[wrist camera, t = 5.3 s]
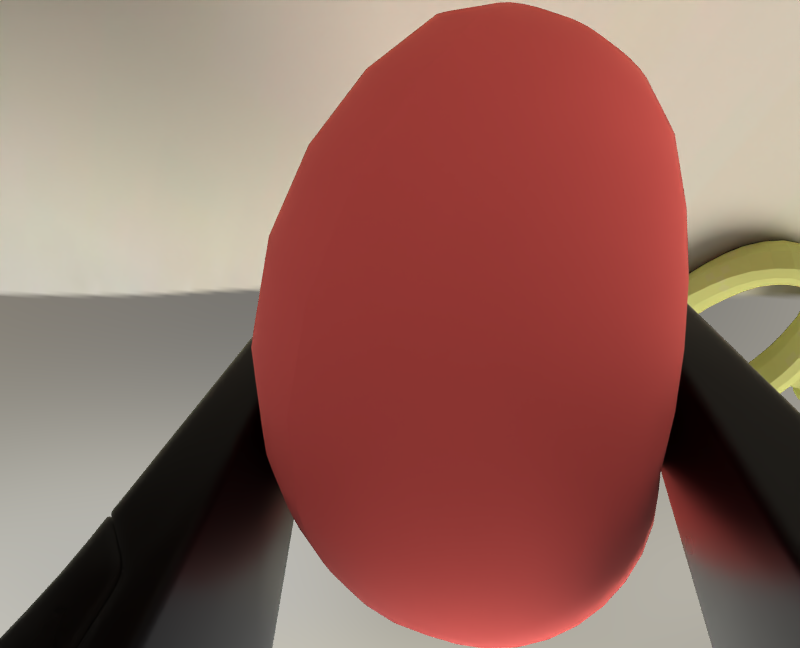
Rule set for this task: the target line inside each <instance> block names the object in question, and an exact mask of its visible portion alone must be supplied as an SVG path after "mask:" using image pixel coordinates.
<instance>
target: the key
mask: <svg viewBox="0 0 800 648" xmlns="http://www.w3.org/2000/svg"><path fill="white" fill-rule="evenodd" d="M769 285H792V286H798V287H800V244H799V243H794V242H789V241H785V240H781V241H764V242H760V243H755V244H750V245H746V246H742V247H740V248H738V249H735V250H733V251H730V252H728V253H725V254H723V255H721V256H719V257H717V258H716V259H714V260H712V261H710V262H708V263H706V264H704V265H702V266H701V267H699V268H698V269H696V270H695V271H693V272H691V273H690V274H689V285H688V301H687V303H688V304H689V305H690V306H691V307H692V308H693V309H694V310H695V311H696V312H697V313H698V314H699V313H701V312H702V311H704V310H705V309H707V308H708V307H710V306H712V305H714V304H716V303H718V302H720V301H722V300H724V299H727V298H729V297H731V296H734V295H736V294H738V293H741V292H744V291H747V290H750V289H753V288H756V287H762V286H769ZM749 364H750V365H751V366H752V367H753V368H754V369H755V370H756V371H757V372H758V373H759V374H760V375H761V376H762V377H763V378H764V379H765V380H766V381H768V382H769V383H770V384H771V385H772V386H773V387H774V388H775V389H776V390H777V391H778V392H779V393H782V392H783V391H784V390H786V389H787V388H788V387H790V386H791V387H793V391H794V393H795V394H796V396H797V398H798V399H799V400H800V312H799V314H798V316H797V317H796V318H795V320H794V321H793V322H792V323H791V324H790V325H789V327H788V328H787V329H786V330H785V331H784V332H783V334H782V335H780V337H779V338H777V340H776V341H774V343H772V344H771V345H770V346H769V347H768V348H767V349H766V350H765V351H763V352H762V353H761V354H760V355H758V356H757V357H756V358H755V359H753V360H752V361H750V362H749Z"/></svg>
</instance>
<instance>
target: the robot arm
mask: <svg viewBox="0 0 800 648" xmlns="http://www.w3.org/2000/svg"><path fill="white" fill-rule="evenodd" d="M252 339H253V337H252V338H251V339H250V341H249V342H248V343H247V344H246V346H245V347H244V348H243V349H242V351H241V352H240V353H239V354H238V356H237V357H236V358H235V359H234V361H233V362H232V363H231V364H230V365H229V367H228V368H227V369H226V371H225V372H224V373H223V374H222V375H221V377H220V378H219V379H218V381H217V382H216V383H215V384H214V385H213V387H212V388H211V389H210V390H209V392H208V393H207V394H206V395H205V397H204V398H203V399H202V400H201V402H200V403H199V404H198V405H197V407H196V408H195V409H194V410H193V411H192V413H191V414H190V415H189V416H188V418H187V419H186V420H185V421H184V423H183V424H182V425H181V426H180V428H179V429H178V430H177V431H176V433H175V434H174V435H173V436H172V438H171V439H170V440H169V441H168V443H167V444H166V445H165V446H164V448H163V449H162V450H161V451H160V452H159V454H158V455H157V456H156V457H155V459H154V460H153V461H152V462H151V464H150V465H149V466H148V467H147V469H146V470H145V471H144V472H143V474H142V475H141V476H140V477H139V479H138V480H137V481H136V482H135V483H134V485H133V486H132V487H131V488H130V490H129V491H128V492H127V494H126V495H125V496H124V497H123V498H122V500H121V501H120V502H119V504H118V505H117V506H116V507H115V508H114V510H113V511H112V514H111V515H112V517H107V518H106V519H105V520H104V522H103V523H102V524H101V525H100V527H99V528H98V529H97V530H96V532H95V533H94V534H93V535H92V537H91V538H90V539H89V540H88V542H87V543H86V544H85V545H84V546H83V547H82V549H81V550H80V551H79V552H78V553H77V555H76V556H75V557H74V558H73V560H72V561H71V562H70V563H69V564H68V565H67V566H66V568H65V569H64V570H63V571H62V572H61V574H60V575H59V576H58V577H57V578H56V579H55V580H54V581H53V582H52V584H51V585H50V586H49V587H48V588H47V589H46V590H45V591H44V592H43V593H42V594H41V595H40V597H39V598H38V599H37V600H36V601H35V602H34V603H33V604H32V605H31V606H30V607H29V608H28V610H27V611H26V612H25V613H24V614H23V615H22V616H21V617H20V618H19V619H18V620H17V621H16V622H15V623H14V625H12V626H11V627H10V629H9V630H8V631H7V632H6V633H5V634H4V635H3V636H2V637H1V638H0V648H272V646H273V640H274V634H275V628H276V622H277V616H278V610H279V604H280V598H281V592H282V586H283V580H284V574H285V568H286V562H287V556H288V550H289V544H290V538H291V532H292V526H293V520H294V518H293V516H292V514H291V512H290V510H289V509H288V506H287V504H286V502H285V499H284V497H283V495H282V492H281V490H280V488H279V485H278V483H277V480H276V478H275V476H274V473H273V471H272V468H271V466H270V463H269V460H268V457H267V455H266V449H265V443H264V437H263V430H262V424H261V416H260V409H259V401H258V394H257V386H256V379H255V372H254V364H253V357H252V349H251V346H252ZM661 472H662V475H663V479H664V482H665V486H666V489H667V493H668V496H669V500H670V503H671V507H672V510H673V514H674V517H675V520H676V524H677V527H678V531H679V534H680V538H681V541H682V544H683V548H684V551H685V555H686V558H687V562H688V565H689V568H690V572H691V575H692V579H693V582H694V586H695V589H696V593H697V596H698V599H699V603H700V606H701V610H702V613H703V617H704V620H705V624H706V627H707V631H708V634H709V637H710V641H711V644H712V647H713V648H800V413H799V412H798V411H797V410H796V409H795V408H794V407H793V406H792V405H791V404H790V403H789V402H788V401H787V400H786V399H785V398H784V397H783V396H782V395H781V394H780V393H779V392H778V391H777V390H776V389H775V388H774V387H773V386H772V385H771V384H770V383H769V382H768V381H766V380H765V379H764V378H763V377H762V376H761V375H760V374H759V373H758V372H757V371H756V370H755V369H754V368H753V367H752V366H751V365H750V364H749V363H748V362H747V361H746V360H745V359H744V358H743V357H742V356H741V355H740V354H739V353H738V352H737V351H736V350H735V349H734V348H733V347H732V346H731V345H730V344H728V343H727V341H725V340H724V339H723V338H722V337H721V336H720V335H719V334H718V333H717V332H716V331H715V330H714V329H713V328H712V327H711V326H710V325H709V324H708V323H707V322H706V321H705V320H704V319H703V318H702V317H701V316H700V315H699V314H698V313H697V312H696V311H695V310H694V309H693V308H692V307H691V306H690V305H689V304H688V303H687V316H686V332H685V347H684V355H683V362H682V369H681V376H680V382H679V389H678V396H677V403H676V409H675V415H674V419H673V423H672V427H671V431H670V436H669V440H668V444H667V448H666V453H665V457H664V461H663V465H662V468H661Z"/></svg>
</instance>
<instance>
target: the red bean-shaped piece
mask: <svg viewBox="0 0 800 648" xmlns="http://www.w3.org/2000/svg"><path fill="white" fill-rule="evenodd" d="M688 285H689V267H688V238H687V210H686V202H685V195H684V189H683V183H682V177H681V170H680V164H679V158H678V152H677V146H676V139H675V134H674V132H673V130H672V127H671V125H670V123H669V121H668V119H667V117H666V115H665V113H664V111H663V109H662V107H661V105H660V104H659V102H658V100H657V98H656V96H655V94H654V92H653V90H652V88H651V86H650V84H649V82H648V80H647V78H646V77H645V75H644V74H643V72H642V71H641V70H640V68H639V67H638V66H637V65H636V64H635V63H634V62H633V61H632V60H631V59H630V58H629V57H628V56H626V55H625V54H624V53H623V52H622V51H621V50H619V49H618V48H617V47H616V46H614V45H613V44H612V43H610V42H609V41H608V40H606V39H605V38H604V37H602V36H601V35H600V34H598V33H597V32H595V31H594V30H593V29H591V28H589V27H588V26H586V25H584V24H582V23H580V22H578V21H576V20H573V19H571V18H568V17H565V16H562V15H559V14H556V13H553V12H550V11H547V10H544V9H541V8H538V7H534V6H530V5H525V4H519V3H511V2H505V3H494V4H488V5H482V6H476V7H470V8H465V9H459V10H453V11H447V12H443V13H439V14H436V15H435V16H434V17H433V18H431V19H430V20H429V21H427V22H426V23H425V24H424V25H422V26H421V27H420V28H418V29H417V30H416V31H415V32H413V33H412V34H411V35H409V36H408V37H407V38H406V39H404V40H403V41H402V42H400V43H399V44H398V45H397V46H395V47H394V48H393V49H391V50H390V51H389V52H388V53H386V54H385V55H384V56H382V57H381V58H380V59H379V60H377V61H376V62H375V63H373V64H372V65H371V66H370V67H368V68H367V69H366V70H365V71H364V73H363V74H362V75H361V77H360V78H359V79H358V81H357V82H356V83H355V85H354V86H353V87H352V89H351V90H350V91H349V93H348V94H347V95H346V96H345V98H344V99H343V100H342V102H341V103H340V104H339V106H338V107H337V108H336V110H335V111H334V112H333V114H332V115H331V116H330V118H329V119H328V120H327V122H326V123H325V124H324V126H323V127H322V128H321V129H320V131H319V132H318V133H317V135H316V136H315V137H314V139H313V140H312V141H311V143H310V144H309V146H308V148H307V150H306V152H305V155H304V157H303V159H302V162H301V164H300V166H299V169H298V171H297V173H296V175H295V178H294V180H293V182H292V185H291V187H290V189H289V191H288V194H287V196H286V198H285V201H284V203H283V205H282V208H281V210H280V212H279V214H278V217H277V219H276V221H275V224H274V226H273V228H272V231H271V233H270V235H269V240H268V246H267V252H266V258H265V264H264V270H263V276H262V282H261V289H260V295H259V301H258V307H257V313H256V319H255V326H254V332H253V339H252V346H251V349H252V357H253V364H254V372H255V379H256V386H257V394H258V401H259V409H260V416H261V424H262V430H263V437H264V443H265V449H266V455H267V457H268V460H269V463H270V466H271V468H272V471H273V473H274V476H275V478H276V480H277V483H278V485H279V488H280V490H281V492H282V495H283V497H284V499H285V502H286V504H287V506H288V509H289V510H290V512H291V514H292V516H293V518H294V520H295V522H296V523H297V525H298V527H299V528H300V530H301V531H302V533H303V534H304V536H305V537H306V539H307V540H308V541H309V543H310V544H311V546H312V547H313V548H314V550H315V551H316V553H317V554H318V556H319V557H320V559H321V560H322V561H323V563H324V564H325V565H326V567H327V568H328V569H329V570H330V571H331V572H332V573H333V575H335V577H336V578H337V579H338V580H340V581H341V582H342V583H343V584H344V585H345V586H346V587H347V588H348V589H349V590H350V591H351V592H352V593H353V594H354V595H355V596H357V597H358V598H359V599H360V600H361V601H362V602H363V603H364V604H366V605H367V606H368V607H370V608H371V609H373V610H375V611H376V612H378V613H379V614H381V615H383V616H384V617H386V618H387V619H389V620H391V621H392V622H394V623H396V624H399V625H401V626H404V627H406V628H409V629H412V630H414V631H417V632H420V633H423V634H425V635H428V636H431V637H435V638H438V639H441V640H445V641H448V642H451V643H455V644H460V645H467V646H473V647H479V648H511V647H520V646H524V645H528V644H532V643H536V642H540V641H544V640H547V639H550V638H552V637H554V636H557V635H559V634H561V633H563V632H565V631H567V630H569V629H571V628H573V627H575V626H577V625H579V624H580V623H582V622H583V621H584V620H585V619H587V618H588V617H590V616H591V615H592V614H594V613H595V612H596V611H597V610H599V609H600V608H602V607H603V606H604V605H605V604H606V603H607V602H608V600H609V599H610V598H611V597H612V596H613V595H614V593H616V592H617V591H618V590H619V588H620V587H621V586H622V585H623V584H624V583H625V582H626V580H627V578H628V577H629V575H630V573H631V572H632V570H633V568H634V567H635V565H636V563H637V562H638V560H639V559H640V557H641V555H642V553H643V550H644V548H645V545H646V542H647V540H648V537H649V534H650V531H651V529H652V526H653V522H654V516H655V509H656V504H657V498H658V491H659V481H660V472H661V468H662V465H663V461H664V457H665V453H666V448H667V444H668V440H669V436H670V431H671V427H672V423H673V419H674V415H675V409H676V403H677V396H678V389H679V382H680V376H681V369H682V362H683V355H684V347H685V332H686V316H687V301H688Z"/></svg>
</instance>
